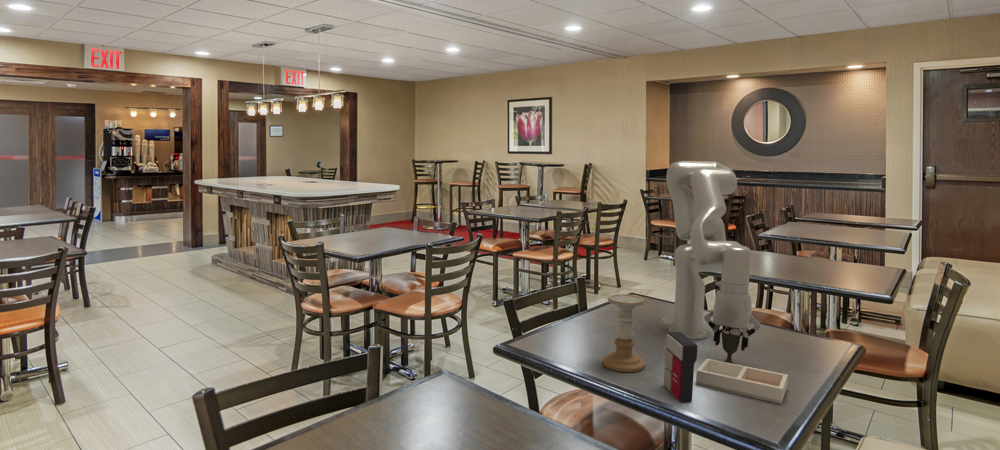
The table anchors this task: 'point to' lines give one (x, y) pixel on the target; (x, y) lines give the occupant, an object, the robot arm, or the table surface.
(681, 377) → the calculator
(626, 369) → the candle holder
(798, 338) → the table surface
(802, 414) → the table surface
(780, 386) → the carrier tray
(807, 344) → the table surface
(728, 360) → the sundae
